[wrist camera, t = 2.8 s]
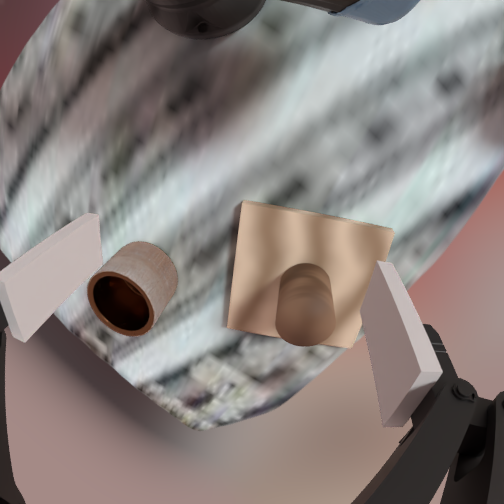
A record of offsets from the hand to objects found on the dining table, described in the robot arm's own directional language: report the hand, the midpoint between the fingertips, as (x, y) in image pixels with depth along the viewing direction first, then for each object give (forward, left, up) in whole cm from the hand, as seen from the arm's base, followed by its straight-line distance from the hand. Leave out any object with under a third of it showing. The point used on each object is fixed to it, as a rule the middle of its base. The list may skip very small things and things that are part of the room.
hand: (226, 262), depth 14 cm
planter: (-2, -25, -27) cm, 37 cm away
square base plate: (+15, -8, -27) cm, 32 cm away
